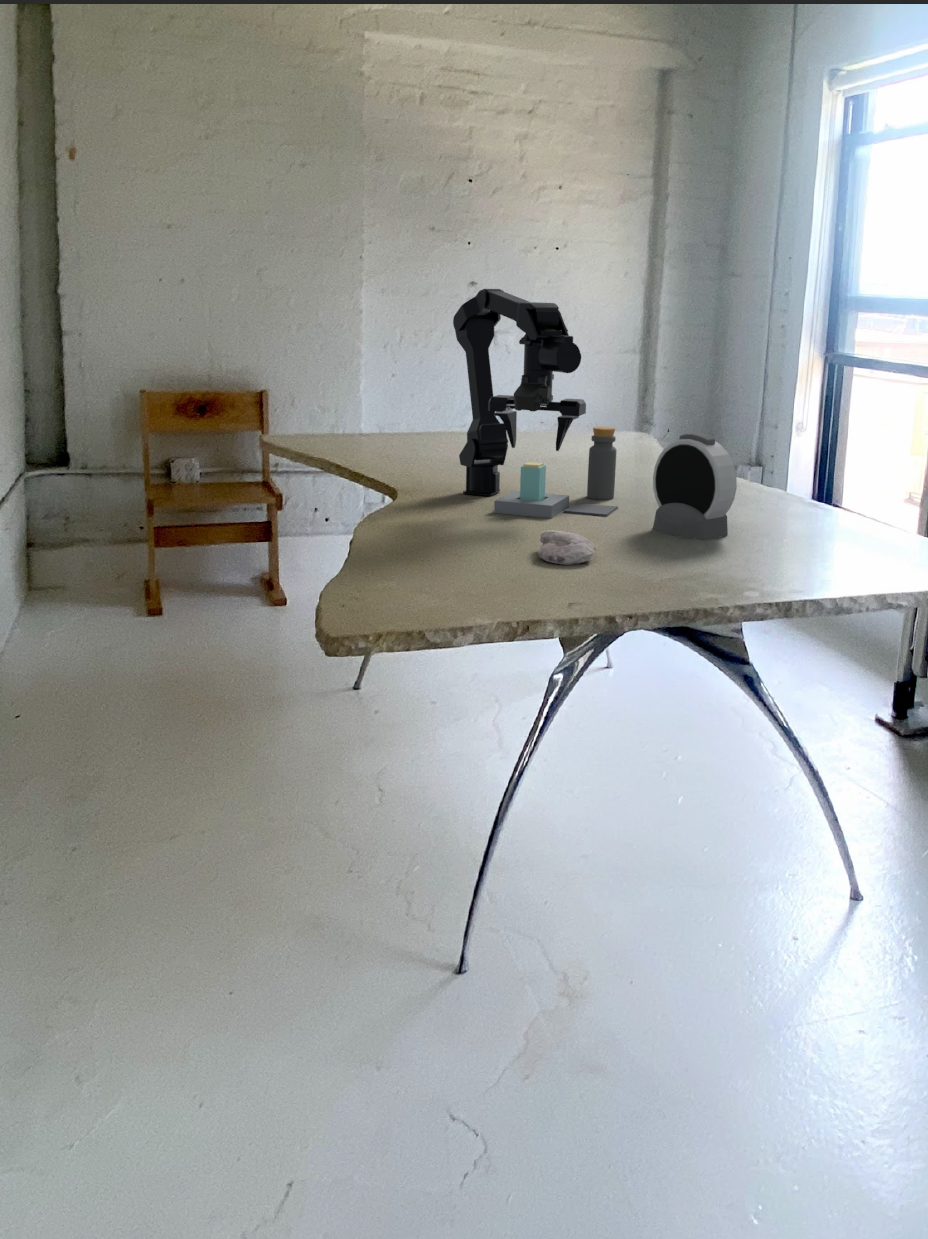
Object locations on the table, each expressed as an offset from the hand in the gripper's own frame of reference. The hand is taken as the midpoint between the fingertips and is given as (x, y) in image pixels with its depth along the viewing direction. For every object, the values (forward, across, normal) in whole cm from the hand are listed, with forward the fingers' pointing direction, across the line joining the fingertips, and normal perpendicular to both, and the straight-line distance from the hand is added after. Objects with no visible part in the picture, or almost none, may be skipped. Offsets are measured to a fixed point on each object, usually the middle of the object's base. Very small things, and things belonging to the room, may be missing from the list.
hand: (535, 449), depth 213 cm
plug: (+12, 0, 0) cm, 12 cm away
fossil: (+13, +17, -36) cm, 42 cm away
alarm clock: (+12, +33, -7) cm, 36 cm away
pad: (+12, +11, +4) cm, 17 cm away
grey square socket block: (+12, 0, 0) cm, 12 cm away
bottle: (+13, +9, +20) cm, 25 cm away
